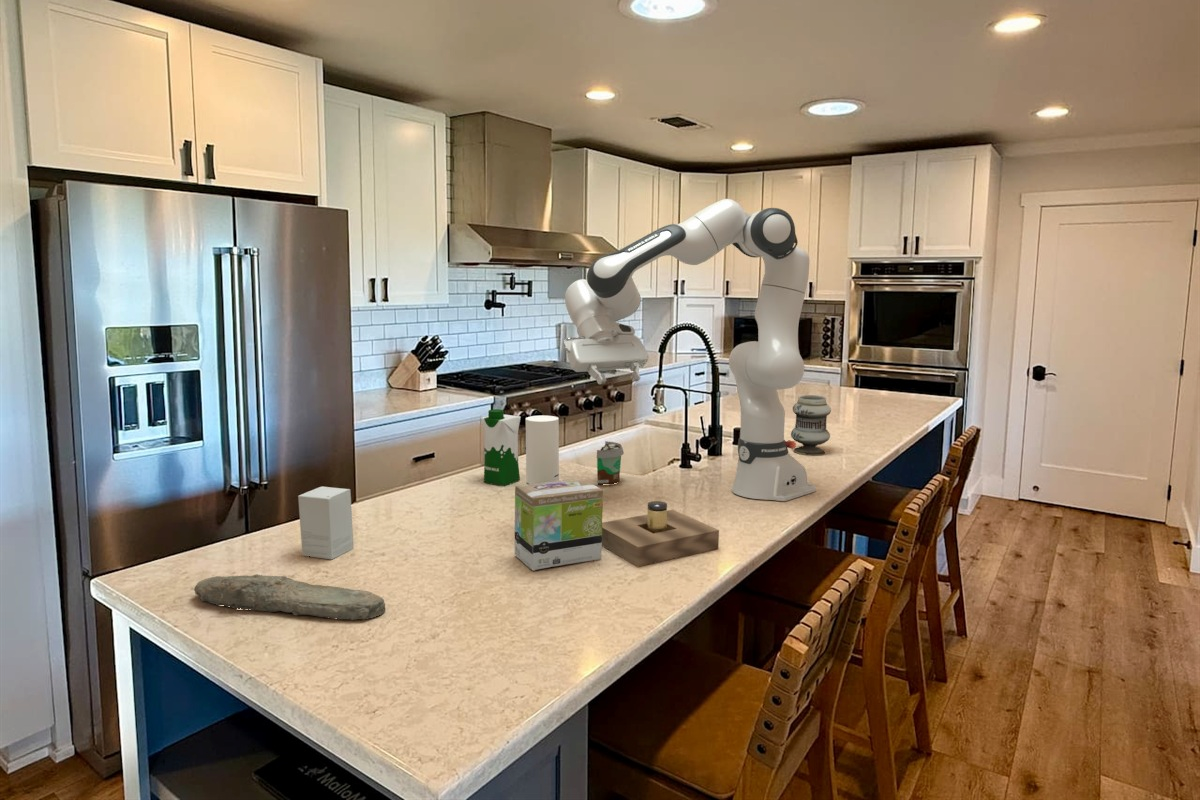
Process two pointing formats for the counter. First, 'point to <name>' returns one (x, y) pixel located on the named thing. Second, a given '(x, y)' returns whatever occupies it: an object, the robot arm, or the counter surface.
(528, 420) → the cylindrical container
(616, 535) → the socket block
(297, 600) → the elongated rock
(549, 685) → the counter surface
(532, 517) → the tea box
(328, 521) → the supplement box
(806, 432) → the apothecary jar
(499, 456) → the milk carton
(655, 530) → the spice jar
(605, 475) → the food container
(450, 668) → the counter surface
